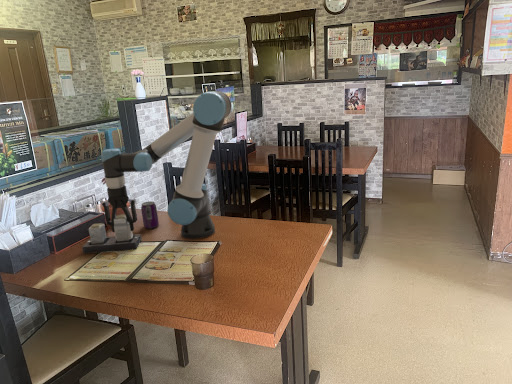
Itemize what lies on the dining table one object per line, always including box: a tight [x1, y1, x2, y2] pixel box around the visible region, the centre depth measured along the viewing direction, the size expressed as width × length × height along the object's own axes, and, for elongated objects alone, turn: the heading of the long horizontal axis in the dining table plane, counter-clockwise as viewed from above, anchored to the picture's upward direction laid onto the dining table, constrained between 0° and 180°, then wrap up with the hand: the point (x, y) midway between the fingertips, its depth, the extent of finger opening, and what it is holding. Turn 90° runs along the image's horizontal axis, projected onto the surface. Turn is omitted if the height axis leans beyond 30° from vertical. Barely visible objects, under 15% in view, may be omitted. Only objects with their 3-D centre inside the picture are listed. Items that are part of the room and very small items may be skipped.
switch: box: [81, 222, 142, 255], centre depth 168 cm, size 22×10×11 cm, turn 93°
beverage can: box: [140, 201, 160, 229], centre depth 189 cm, size 7×7×12 cm
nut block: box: [114, 214, 130, 242], centre depth 167 cm, size 5×5×11 cm
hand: (124, 238), depth 169 cm, fingers closed on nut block, 5 cm apart
